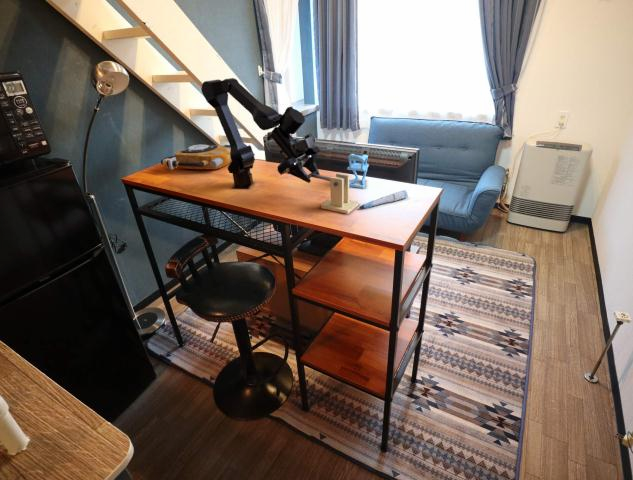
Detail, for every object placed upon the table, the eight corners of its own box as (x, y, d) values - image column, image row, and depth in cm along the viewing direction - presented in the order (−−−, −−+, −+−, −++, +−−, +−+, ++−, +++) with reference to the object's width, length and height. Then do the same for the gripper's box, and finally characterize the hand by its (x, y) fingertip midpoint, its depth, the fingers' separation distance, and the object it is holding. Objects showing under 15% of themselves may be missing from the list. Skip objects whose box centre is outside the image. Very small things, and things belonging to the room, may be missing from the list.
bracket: (321, 208, 116) (320, 177, 110) (332, 199, 122) (332, 170, 116) (347, 214, 111) (348, 182, 106) (358, 204, 117) (359, 174, 111)
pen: (402, 195, 122) (403, 188, 121) (408, 198, 120) (409, 191, 118) (356, 208, 115) (356, 200, 113) (362, 211, 112) (362, 203, 111)
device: (215, 157, 143) (153, 154, 149) (219, 176, 147) (158, 173, 154) (239, 143, 161) (183, 141, 168) (241, 160, 166) (187, 158, 172)
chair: (370, 181, 136) (371, 150, 130) (364, 188, 129) (365, 157, 123) (351, 178, 139) (352, 149, 133) (344, 186, 132) (344, 155, 126)
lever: (305, 180, 116) (305, 173, 114) (314, 175, 120) (314, 168, 118) (339, 188, 110) (339, 181, 109) (347, 182, 114) (347, 176, 113)
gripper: (282, 133, 104) (313, 174, 104) (314, 121, 117) (342, 158, 118) (264, 155, 112) (294, 193, 112) (296, 141, 125) (323, 175, 126)
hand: (314, 179), depth 117 cm, fingers closed on lever, 5 cm apart
